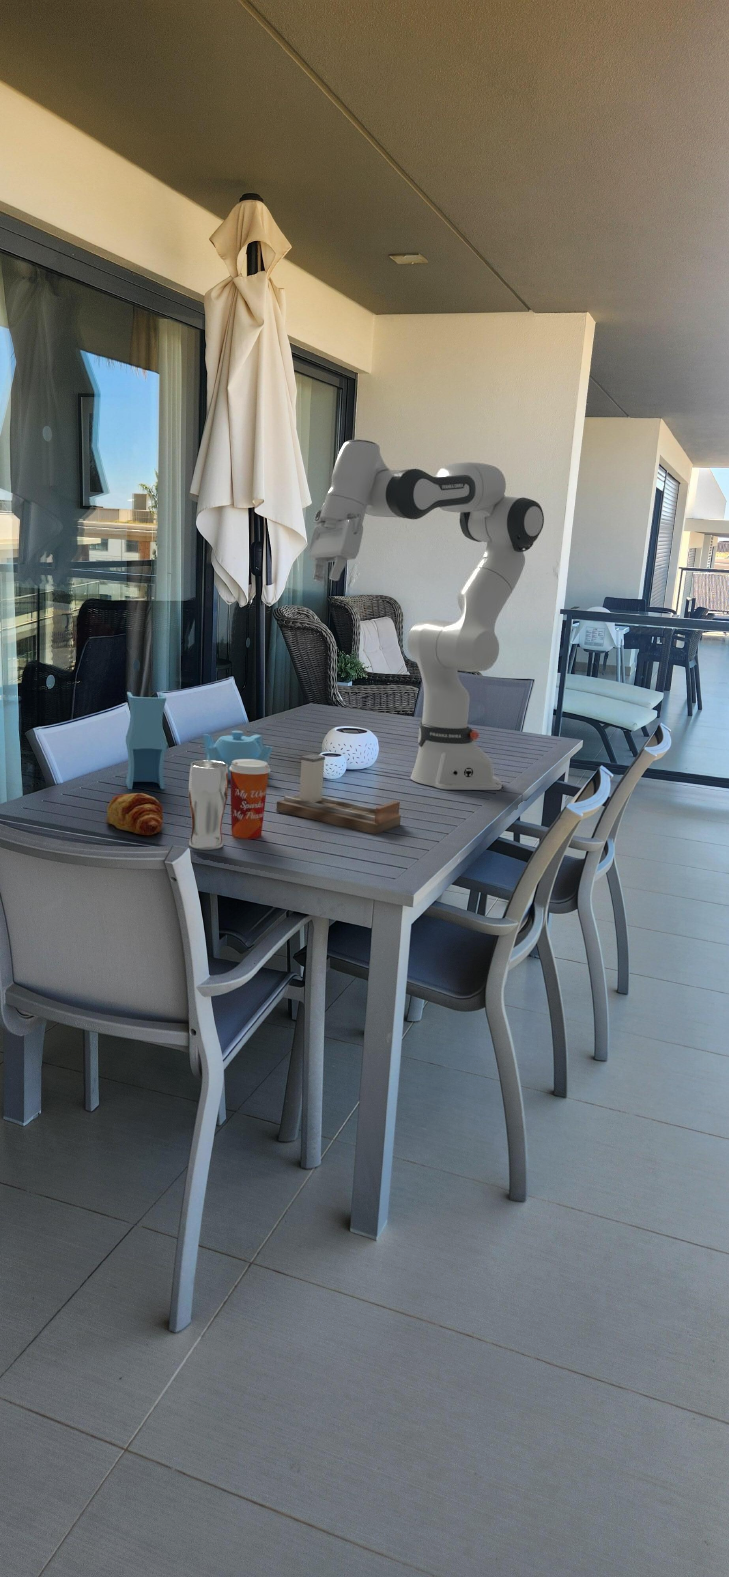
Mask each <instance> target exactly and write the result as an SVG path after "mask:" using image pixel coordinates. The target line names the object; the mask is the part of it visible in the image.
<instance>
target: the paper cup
mask: <svg viewBox="0 0 729 1577" xmlns="http://www.w3.org/2000/svg"><path fill="white" fill-rule="evenodd" d="M229 770H230V771H231V781H230V813H231V814H230V819H231V820H230V822H231V825H230V826H231V828H230V829H231V835H232V837H234V838H236V839H243V840H255V839H258V838H260V837H261V836H262V830H263V824H264V816H265V808H266V799H267V797H266V796H267V791H268V790H267V789H268V782H269V781H268V779H269V773H271V770H272V769H270V765H269V764H268V762H264V761H261V760H254V759H238V760H234V761H232V763H231V766H230V767H229Z"/></svg>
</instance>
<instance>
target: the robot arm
mask: <svg viewBox="0 0 729 1577" xmlns="http://www.w3.org/2000/svg"><path fill="white" fill-rule="evenodd" d="M380 451H381V447H380V445H379V444H377V443H376V442H373V441H371V440H367V439H350V440H347V441H345V442H344V443H343V445H342V446H341V448H340V450H339V452H338V455H337V457H336V461H335V464H334V467H333V469H332V470H333V471H332V475H331V485H330V488H329V490H328V491H327V493H326V494H325V499H324V503H323V504H322V506H321V508H319V510H318V511H316V513H315V514H314V518H313V523H315V525H314V528H313V529H312V533H311V538H310V542H309V547H308V559H310V560H311V561H314V563H313V576H312V580H313V581H315V582H318V583H320V582H323V580H324V576H325V573H324V571H325V570H324V569H325V567H326V565H327V563H332V562H334V563H333V566H332V569H330V571H329V576H328V578H329V580H331V581H335V582H337V581H339V580H340V578H341V574H342V572H343V570H344V569H345V567H346V565H347V562H348V560H349V561H350V560H356V558H357V557H358V554H359V552H360V548H361V543H362V539H363V533H364V525H363V523H364V521H365V520H364V519H365V516H366V514H367V515H369V516H372V517H381V518H382V517H383V518H399V519H400V518H402V519H407V520H418V519H421V518H423V517H424V516H427V515H428V514H429V513H430V512H432V511H433V510H434V509H437V508H439V509H441V510H442V511H445V512H449V513H460V514H459V526H460V530H461V532H462V534H463V535H464V537H465V538H467V539H469V540H471V541H473V542H477V543H481V542H483V543H486V548H485V550H484V553H483V556H482V557H481V558H480V559H479V560H478V562H477V563H476V564H475V566H474V567H473V569H472V570H471V572H470V574H469V575H468V577H467V579H465V582H464V583H463V585H462V586H461V588H460V590H458V592H457V596H456V598H457V600H456V601H457V605H458V607H459V610H461V614H460V616H459V618H458V619H457V620H456V621H446V620H439V619H430V620H422V621H419V622H416V623H415V624H414V625H413V626H412V627H411V629H410V630H409V632H408V635H407V642H406V643H407V644H406V645H407V650H408V653H409V654H410V656H411V657H412V658H413V660H414V661H415V662H416V665H417V667H418V669H419V670H418V671H419V673H420V676H421V681H422V686H423V706H422V708H423V709H422V718H421V719H422V720H421V722H420V724H419V728H418V737H417V739H418V740H417V743H418V751H417V755H416V760H415V763H414V767H413V769H412V773H411V775H410V779H411V780H412V781H413V782H415V783H419V784H421V785H425V786H431V787H435V788H437V789H439V790H449V791H450V790H452V791H453V790H461V791H463V790H464V791H466V790H467V791H471V790H473V791H499V790H502V785H503V784H502V781H501V780H500V779H499V778H498V777H496V776H495V775H494V774H495V773H494V772H495V770H494V764H493V760H492V759H491V758H490V757H489V756H488V755H487V754H486V753H485V751H483V750H482V749H481V748H480V747H479V746H478V745H477V744H476V743H474V742H473V741H475V740H478V738H480V734H479V732H478V731H477V730H474V729H473V728H471V727H469V726H468V721H469V720H468V719H469V710H470V702H471V699H470V698H471V697H470V693H469V691H468V690H467V689H466V688H465V687H464V685H463V684H462V682H461V680H460V678H459V673H458V672H459V671H463V672H468V673H470V672H471V673H472V672H475V673H476V672H482V671H483V672H484V671H487V670H490V669H491V668H492V667H493V665H494V664H495V663H496V662H497V660H498V657H499V654H500V643H499V639H498V637H497V635H496V633H495V629H496V628H495V627H496V626H495V625H496V622H497V620H498V618H499V615H500V613H501V612H502V610H503V608H504V606H505V604H506V603H507V601H508V600H509V597H510V596H511V594H512V593H513V592H514V590H515V588H516V585H517V584H518V582H519V580H520V578H521V575H522V573H523V571H524V567H525V563H526V556H525V553H524V552H526V551H528V550H530V549H531V548H532V547H533V545H534V543H535V542H536V541H537V539H538V538H539V536H540V534H541V533H542V531H543V528H544V524H545V523H544V522H545V517H544V516H545V515H544V511H543V508H542V506H541V505H540V503H539V502H537V501H536V500H533V499H532V498H528V497H515V496H506V495H505V493H506V489H507V483H506V478H505V476H504V474H503V472H502V471H501V469H499V468H498V467H496V466H494V465H491V464H487V463H481V462H471V461H470V462H456V463H452V464H449V465H445V466H442V467H440V469H438V471H437V473H436V474H435V476H433V475H431V474H429V473H428V472H426V471H424V470H422V469H419V468H411V469H390V468H389V467H388V466H387V465H386V463H385V462H384V459H383V457H382V455H381V452H380Z"/></svg>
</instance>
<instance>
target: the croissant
mask: <svg viewBox="0 0 729 1577" xmlns="http://www.w3.org/2000/svg"><path fill="white" fill-rule="evenodd" d="M106 810H107V816H106V817H107V819H106V820H107V823H108V824H111V825H112V826H115V827H116V829H119V830H121V831H125V832H132V833H134V834H136V835H140V836H152V835H154V834H158V832H160V831H161V830H162V827H163V819H164V815H163V810H164V809H163V806H162V804H161V803H160V802H159V800H157V799H156V798H155V797H154V796H150V795H148V794H145V793H143V792H141V793H137V792H136V793H123V794H118V795H115V796H114V797H113V798H112V799H111V800H110V802H109V803H108V805H107V809H106Z"/></svg>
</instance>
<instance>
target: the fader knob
mask: <svg viewBox="0 0 729 1577" xmlns="http://www.w3.org/2000/svg"><path fill="white" fill-rule="evenodd" d="M300 760H301V764H300V780H299V793H298V795H299V799H300V800H305V801H309V802H313V803H315V802H318V801H321V800H322V797H323V782H324V770H325V760H326V756H324V755H320V754H314V753H312V754H307V755H303V756H301V757H300Z"/></svg>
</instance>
